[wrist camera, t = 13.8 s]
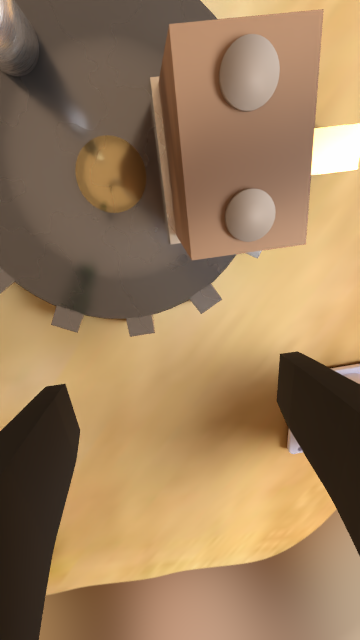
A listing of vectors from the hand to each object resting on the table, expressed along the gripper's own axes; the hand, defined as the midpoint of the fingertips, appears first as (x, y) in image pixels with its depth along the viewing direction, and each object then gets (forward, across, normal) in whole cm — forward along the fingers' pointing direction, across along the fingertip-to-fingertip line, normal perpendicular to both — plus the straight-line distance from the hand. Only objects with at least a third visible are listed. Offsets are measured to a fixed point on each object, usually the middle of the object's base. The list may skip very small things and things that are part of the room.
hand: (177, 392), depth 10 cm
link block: (+7, -3, -7) cm, 10 cm away
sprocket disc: (+9, +2, -7) cm, 11 cm away
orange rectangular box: (+9, -8, -7) cm, 14 cm away
